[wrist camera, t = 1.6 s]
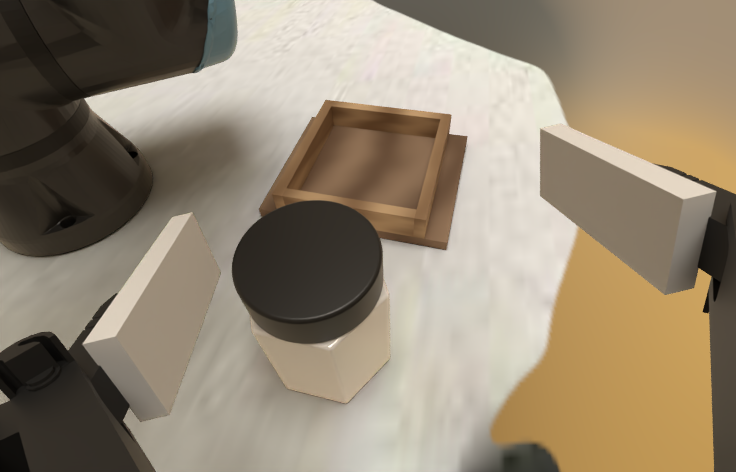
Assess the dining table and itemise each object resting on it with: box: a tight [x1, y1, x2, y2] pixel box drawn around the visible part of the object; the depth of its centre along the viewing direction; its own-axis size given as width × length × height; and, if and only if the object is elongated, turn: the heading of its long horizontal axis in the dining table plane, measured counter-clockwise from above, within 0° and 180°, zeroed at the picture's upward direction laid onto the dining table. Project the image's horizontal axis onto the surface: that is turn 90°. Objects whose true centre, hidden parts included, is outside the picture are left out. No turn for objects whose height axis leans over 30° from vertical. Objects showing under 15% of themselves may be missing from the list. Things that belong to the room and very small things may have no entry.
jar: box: [232, 200, 390, 403], centre depth 26 cm, size 9×8×12 cm
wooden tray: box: [259, 100, 467, 250], centre depth 41 cm, size 18×15×4 cm
